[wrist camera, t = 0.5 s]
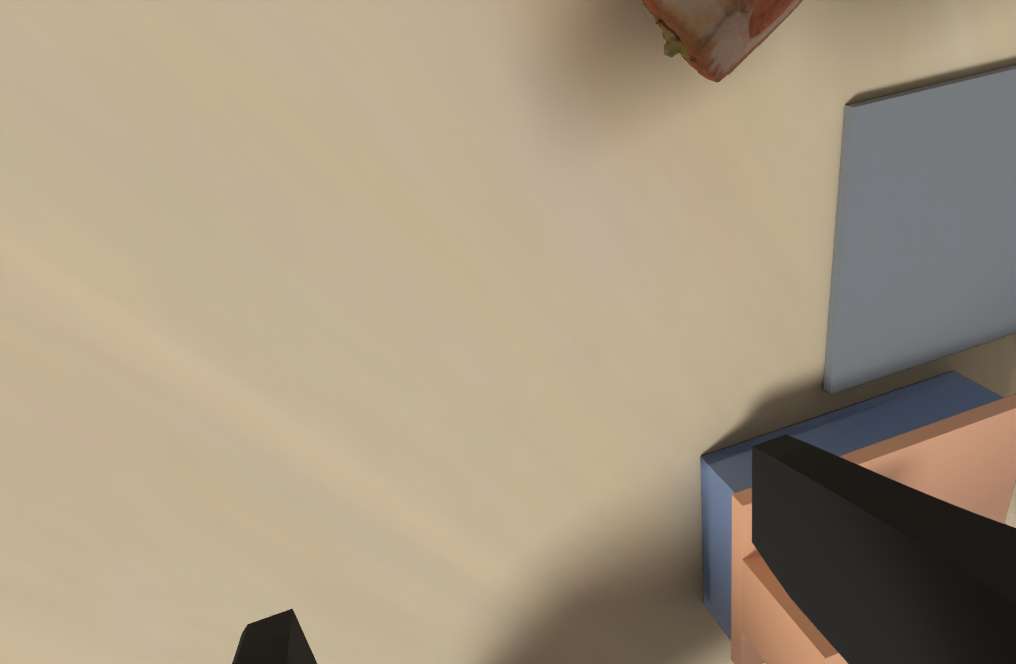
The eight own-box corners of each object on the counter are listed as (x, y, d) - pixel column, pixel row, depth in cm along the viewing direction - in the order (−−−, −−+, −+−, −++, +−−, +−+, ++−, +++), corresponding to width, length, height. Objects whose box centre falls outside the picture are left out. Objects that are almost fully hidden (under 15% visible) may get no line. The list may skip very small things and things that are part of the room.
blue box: (927, 517, 30) (975, 555, 28) (704, 603, 28) (738, 651, 26) (953, 370, 27) (1010, 402, 25) (700, 456, 25) (740, 498, 23)
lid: (961, 543, 29) (1095, 648, 24) (718, 640, 27) (813, 777, 22) (996, 380, 25) (1163, 467, 21) (716, 477, 23) (831, 600, 18)
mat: (1102, 296, 28) (1113, 300, 27) (823, 389, 25) (830, 394, 25) (1179, 25, 23) (1192, 26, 23) (844, 105, 20) (854, 107, 20)
